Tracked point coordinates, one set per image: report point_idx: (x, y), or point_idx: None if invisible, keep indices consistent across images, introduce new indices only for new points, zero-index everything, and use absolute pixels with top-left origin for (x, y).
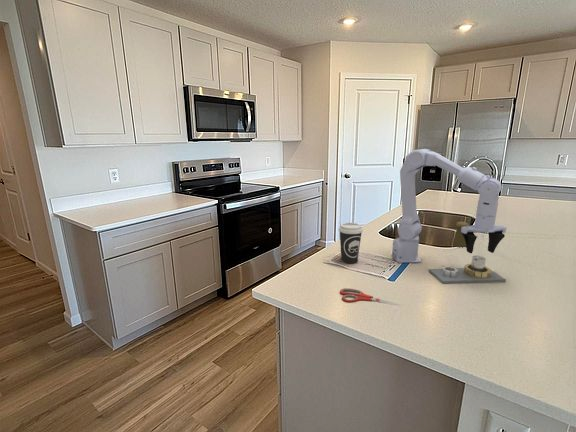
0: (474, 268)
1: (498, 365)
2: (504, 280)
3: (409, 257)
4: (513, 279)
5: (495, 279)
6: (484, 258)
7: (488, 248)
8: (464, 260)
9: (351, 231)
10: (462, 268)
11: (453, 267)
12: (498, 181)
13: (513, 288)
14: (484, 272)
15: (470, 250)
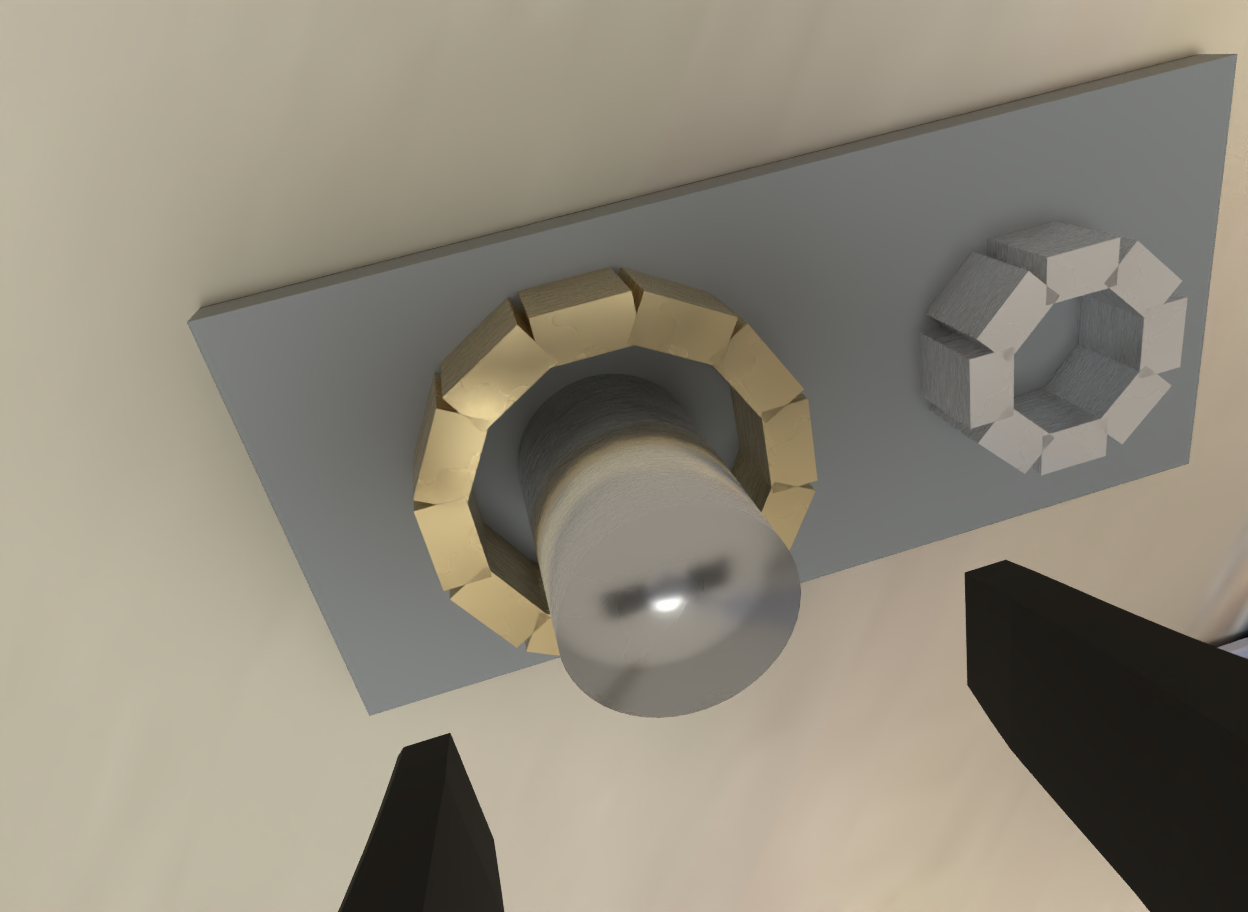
0: (707, 441)
1: None
2: (215, 311)
3: None
4: (29, 442)
5: (379, 279)
6: (581, 606)
7: (495, 892)
8: (568, 881)
9: None
10: None
11: (993, 442)
12: None
13: (122, 50)
14: (575, 338)
15: (1075, 593)
